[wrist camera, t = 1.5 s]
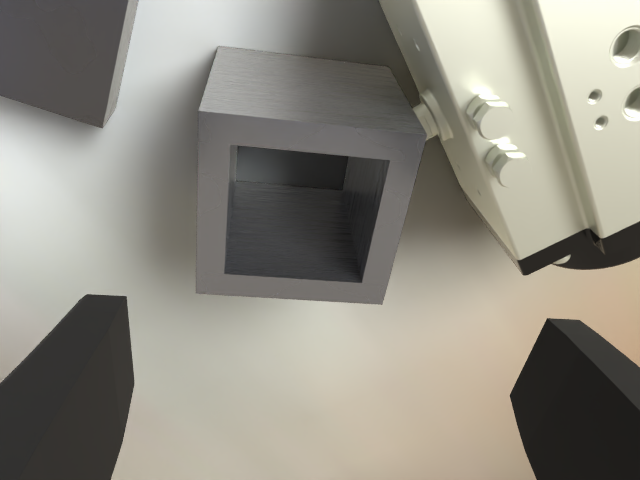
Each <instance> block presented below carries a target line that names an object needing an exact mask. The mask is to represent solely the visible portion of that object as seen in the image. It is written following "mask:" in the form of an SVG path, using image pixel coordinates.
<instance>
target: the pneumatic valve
mask: <svg viewBox="0 0 640 480" xmlns="http://www.w3.org/2000/svg"><path fill="white" fill-rule="evenodd" d="M379 3H380V5H381V7H382V9H383V12H384V14H385V16H386V18H387V21H388V23H389V25H390V27H391V30H392V32H393V34H394V37H395V39H396V41H397V43H398V46H399V48H400V50H401V52H402V55H403V57H404V59H405V61H406V64H407V66H408V68H409V71H410V73H411V75H412V77H413V80H414V82H415V84H416V86H417V89H418V91H419V93H420V95H419V98H420V102H421V104H419V105H417V106H415V107H413V108H412V109H413V110H414V112H415V114H416V116H417V117H418V119H419V121H420V123H421V124H422V126H423V128H424V130H425V131H426V133H427V138H426V140H428V139H430V138H432V137H434V136H436V135H437V136H438V137H439V138H440V141H441V143H442V145H443V148H444V150H445V152H446V154H447V157H448V159H449V161H450V163H451V166H452V168H453V170H454V172H455V175H456V177H457V179H458V182H459V184H460V186H461V188H462V191H463V193H464V195H465V197H466V200H467V201H468V202H469V204H470V205H471V206H472V208H473V209H474V210H475V212H476V213H477V214H478V216H479V217H480V218H481V220H482V221H483V222H484V224H485V225H486V226H487V228H488V229H489V230H490V232H491V233H492V234H493V236H494V237H495V238H496V240H497V241H498V243H499V244H500V245H501V247H502V248H503V249H504V251H505V252H506V253H507V255H508V256H509V257H510V259H511V260H512V261H513V263H514V264H515V265H516V267H517V268H518V269H519V271H520V272H521V273H522V275H529V274H531V273H533V272H535V271H537V270H539V269H541V268H543V267H545V266H547V265H550V264H553V265H556V266H559V267H563V268H569V269H578V270H591V269H602V268H608V267H613V266H617V265H621V264H624V263H627V262H630V261H632V260H635V259H637V258H639V257H640V0H379Z"/></svg>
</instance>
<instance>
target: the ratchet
mask: <svg viewBox="0 0 640 480" xmlns="http://www.w3.org/2000/svg"><path fill="white" fill-rule="evenodd" d="M138 1H139V0H0V95H1V96H4V97H7V98H10V99H13V100H16V101H19V102H22V103H26V104H29V105H32V106H35V107H38V108H41V109H44V110H47V111H50V112H53V113H57V114H60V115H63V116H66V117H69V118H72V119H75V120H78V121H81V122H84V123H88V124H91V125H94V126H97V127H100V128H103V127H104V125H105V124H106V122H107V121H108V119H109V118H110V116H111V115H112V113H113V111H114V110H115V108H116V104H117V100H118V95H119V90H120V85H121V81H122V76H123V71H124V67H125V62H126V57H127V52H128V48H129V43H130V38H131V34H132V29H133V24H134V19H135V15H136V10H137V5H138Z"/></svg>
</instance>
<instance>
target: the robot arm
mask: <svg viewBox="0 0 640 480" xmlns="http://www.w3.org/2000/svg"><path fill="white" fill-rule="evenodd" d="M133 388H134V373H133V362H132V351H131V340H130V330H129V319H128V308H127V297H126V296H109V295H90V294H87V295H85V296H84V297H83V298H82V299H80V300H79V301H78V303H77V304H76V305H75V306H74V307H73V308H72V309H71V310H70V311H69V312H68V313H67V315H66V316H65V317H64V318H63V319H62V320H61V321H60V322H59V323H58V324H57V325H56V327H55V328H54V329H53V330H52V331H51V332H50V333H49V334H48V335H47V336H46V337H45V338H44V339H43V340H42V341H41V343H40V344H39V345H38V346H37V347H36V348H35V349H34V350H33V351H32V352H31V353H30V354H29V355H28V356H27V357H26V358H25V359H24V360H23V361H22V362H21V363H20V364H19V365H18V366H17V367H16V368H15V369H14V370H13V371H12V372H11V373H10V374H9V375H8V376H7V377H6V378H5V379H4V380H3V381H2V382H1V383H0V480H111V477H112V474H113V470H114V467H115V464H116V461H117V458H118V455H119V452H120V448H121V445H122V442H123V437H124V432H125V428H126V423H127V418H128V413H129V408H130V403H131V398H132V393H133ZM510 398H511V402H512V406H513V410H514V414H515V418H516V422H517V426H518V429H519V432H520V436H521V439H522V442H523V446H524V449H525V452H526V454H527V457H528V459H529V462H530V464H531V467H532V469H533V472H534V474H535V476H536V479H537V480H640V367H638V366H637V365H636V364H635V363H634V362H632V361H631V360H630V359H629V358H628V357H626V356H625V355H624V354H623V353H621V352H620V351H619V350H618V349H616V348H615V347H614V346H613V345H612V344H610V343H609V342H608V341H606V340H605V339H604V338H603V337H601V336H600V335H599V334H598V333H596V332H595V331H594V330H592V329H591V328H590V327H588V326H587V325H585V324H584V323H583V322H581V321H580V320H569V319H550V318H547V320H546V322H545V324H544V326H543V328H542V330H541V332H540V334H539V336H538V338H537V340H536V342H535V344H534V347H533V349H532V351H531V353H530V355H529V357H528V359H527V361H526V363H525V365H524V367H523V369H522V371H521V373H520V375H519V377H518V379H517V381H516V383H515V386H514V388H513V390H512V392H511V394H510Z"/></svg>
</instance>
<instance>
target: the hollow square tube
mask: <svg viewBox="0 0 640 480" xmlns="http://www.w3.org/2000/svg"><path fill="white" fill-rule="evenodd" d="M426 138H427V133H426V131H425V130H424V128H423V126H422V124H421V123H420V121H419V119H418V117H417V116H416V114H415V112H414V110H413V109H412V107H411V105H410V103H409V102H408V100H407V98H406V96H405V95H404V93H403V91H402V89H401V88H400V86H399V84H398V82H397V80H396V79H395V77H394V75H393V73H392V72H391V70H390V68H389V67H388V66H380V65H371V64H363V63H355V62H346V61H338V60H330V59H321V58H313V57H305V56H297V55H288V54H280V53H272V52H263V51H255V50H247V49H239V48H230V47H222V46H219V47H218V50H217V53H216V56H215V59H214V62H213V66H212V69H211V72H210V75H209V78H208V82H207V85H206V88H205V91H204V94H203V98H202V101H201V104H200V107H199V110H198V175H197V252H196V293H198V294H214V295H231V296H248V297H264V298H281V299H297V300H314V301H331V302H347V303H364V304H381V305H382V304H383V300H384V296H385V293H386V289H387V285H388V281H389V277H390V274H391V270H392V266H393V262H394V259H395V255H396V251H397V247H398V244H399V240H400V236H401V232H402V228H403V225H404V221H405V217H406V213H407V210H408V206H409V202H410V198H411V195H412V191H413V187H414V183H415V179H416V176H417V172H418V168H419V164H420V161H421V157H422V153H423V149H424V146H425V142H426ZM238 145H239V146H249V147H259V148H270V149H280V150H290V151H300V152H311V153H321V154H331V155H342V156H349V157H348V163H347V168H346V174H345V179H344V185H343V190H333V189H322V188H310V187H299V186H288V185H276V184H265V183H254V182H242V181H236V168H237V150H238Z"/></svg>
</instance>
